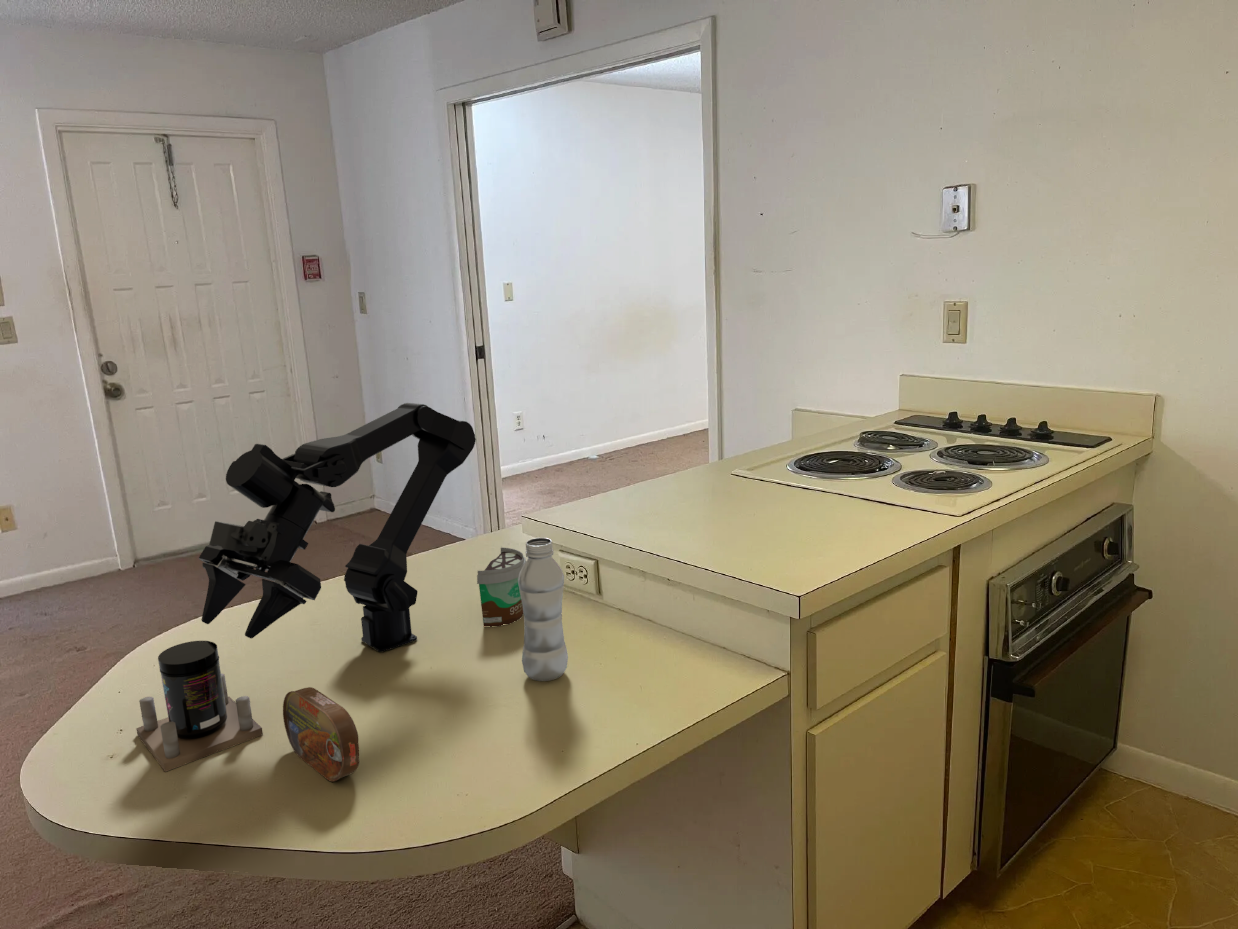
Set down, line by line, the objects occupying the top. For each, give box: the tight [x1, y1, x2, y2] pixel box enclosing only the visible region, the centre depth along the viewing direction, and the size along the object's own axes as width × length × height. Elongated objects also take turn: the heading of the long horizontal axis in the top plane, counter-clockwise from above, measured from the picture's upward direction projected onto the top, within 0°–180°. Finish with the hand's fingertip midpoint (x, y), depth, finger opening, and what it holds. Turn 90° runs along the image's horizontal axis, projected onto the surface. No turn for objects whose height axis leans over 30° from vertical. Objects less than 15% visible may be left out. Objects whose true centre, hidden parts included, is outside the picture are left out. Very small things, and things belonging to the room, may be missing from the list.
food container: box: [476, 546, 527, 628], centre depth 146 cm, size 12×6×10 cm, turn 168°
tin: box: [282, 686, 360, 782], centre depth 105 cm, size 15×3×8 cm, turn 45°
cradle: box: [135, 672, 264, 773], centre depth 113 cm, size 12×12×5 cm
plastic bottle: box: [518, 537, 569, 682], centre depth 124 cm, size 6×7×20 cm
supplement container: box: [157, 640, 227, 739], centre depth 112 cm, size 7×7×10 cm
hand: (225, 629), depth 115 cm, fingers open, 9 cm apart
